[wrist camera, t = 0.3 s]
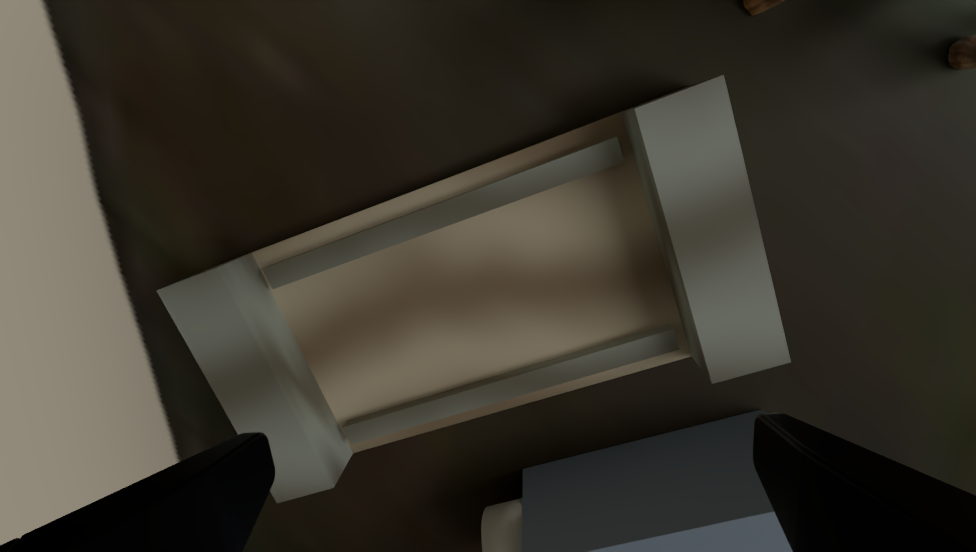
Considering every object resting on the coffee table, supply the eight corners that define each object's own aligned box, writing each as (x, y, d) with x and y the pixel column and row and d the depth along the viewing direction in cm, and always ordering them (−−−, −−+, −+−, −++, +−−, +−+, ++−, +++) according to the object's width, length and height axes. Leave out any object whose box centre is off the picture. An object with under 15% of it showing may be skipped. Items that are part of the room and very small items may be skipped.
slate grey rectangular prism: (778, 482, 24) (856, 589, 18) (513, 541, 26) (510, 653, 21) (760, 407, 23) (837, 497, 17) (486, 476, 25) (475, 575, 20)
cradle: (750, 327, 22) (790, 362, 18) (309, 455, 26) (277, 503, 22) (689, 85, 19) (723, 74, 16) (210, 268, 23) (156, 290, 20)
